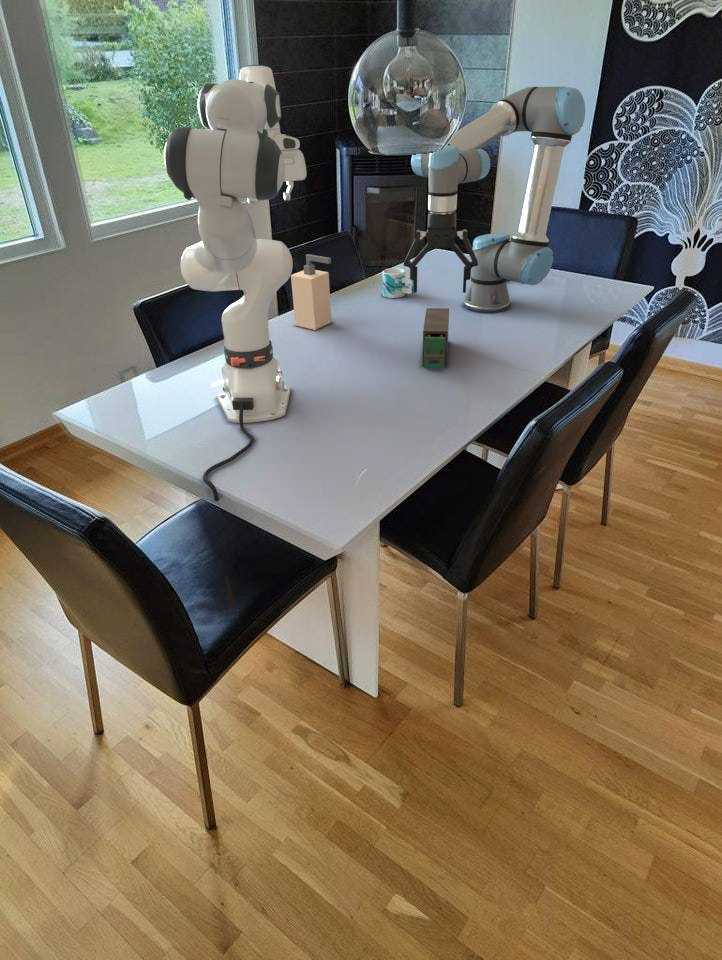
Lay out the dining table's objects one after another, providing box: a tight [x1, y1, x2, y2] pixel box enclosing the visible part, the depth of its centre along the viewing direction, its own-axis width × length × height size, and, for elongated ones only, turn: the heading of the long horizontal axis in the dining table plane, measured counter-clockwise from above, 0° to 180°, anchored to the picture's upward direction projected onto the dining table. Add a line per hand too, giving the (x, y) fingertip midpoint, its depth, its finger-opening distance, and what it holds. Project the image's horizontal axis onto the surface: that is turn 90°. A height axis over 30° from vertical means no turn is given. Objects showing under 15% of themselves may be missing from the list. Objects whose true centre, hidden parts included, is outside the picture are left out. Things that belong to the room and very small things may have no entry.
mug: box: [381, 267, 415, 299], centre depth 238 cm, size 8×12×8 cm
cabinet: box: [422, 307, 450, 368], centre depth 191 cm, size 19×7×10 cm, turn 173°
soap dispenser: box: [290, 253, 333, 331], centre depth 211 cm, size 13×9×22 cm
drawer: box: [423, 334, 445, 369], centre depth 186 cm, size 23×6×9 cm, turn 173°
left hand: (269, 201), depth 173 cm, fingers open, 8 cm apart
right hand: (439, 291), depth 188 cm, fingers open, 13 cm apart
